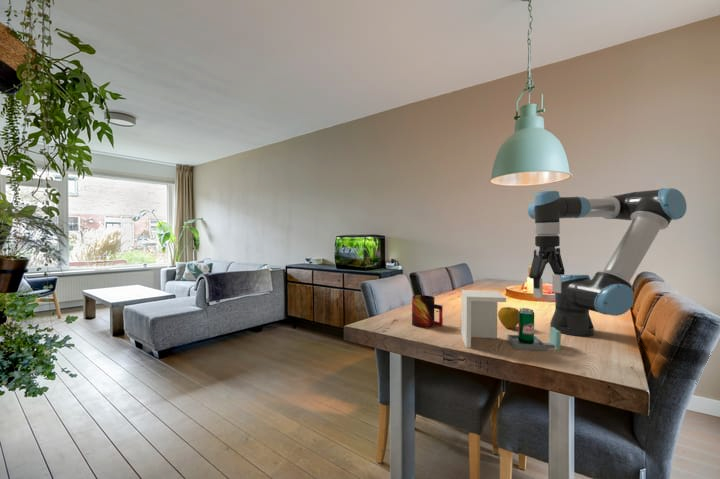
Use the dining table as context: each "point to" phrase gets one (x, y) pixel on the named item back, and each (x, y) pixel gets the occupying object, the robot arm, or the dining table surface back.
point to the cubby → (479, 314)
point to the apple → (508, 317)
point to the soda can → (526, 326)
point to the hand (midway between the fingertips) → (547, 295)
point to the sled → (538, 341)
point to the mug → (425, 312)
